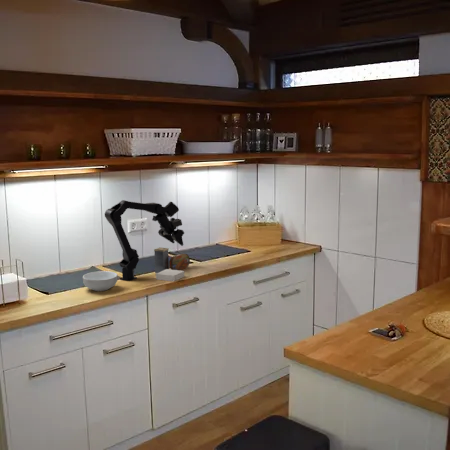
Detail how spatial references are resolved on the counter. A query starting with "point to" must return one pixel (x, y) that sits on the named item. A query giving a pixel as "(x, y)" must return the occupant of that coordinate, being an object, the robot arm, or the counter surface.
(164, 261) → the block
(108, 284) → the cereal bowl
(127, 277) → the robot arm
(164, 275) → the stand
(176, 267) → the mottled brown rounded slab
